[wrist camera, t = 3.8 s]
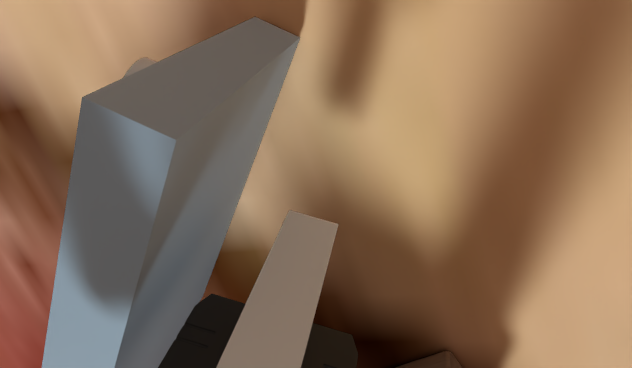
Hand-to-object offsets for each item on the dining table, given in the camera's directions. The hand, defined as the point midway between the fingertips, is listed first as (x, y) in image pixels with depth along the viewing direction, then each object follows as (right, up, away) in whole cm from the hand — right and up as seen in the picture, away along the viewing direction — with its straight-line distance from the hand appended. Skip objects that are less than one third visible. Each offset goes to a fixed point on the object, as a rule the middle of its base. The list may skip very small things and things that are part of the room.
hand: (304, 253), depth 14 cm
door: (-4, +3, +4) cm, 6 cm away
